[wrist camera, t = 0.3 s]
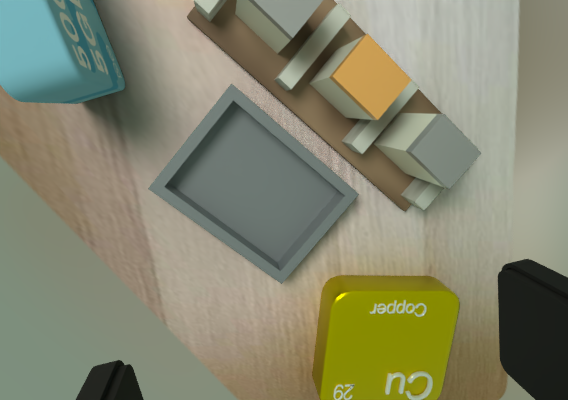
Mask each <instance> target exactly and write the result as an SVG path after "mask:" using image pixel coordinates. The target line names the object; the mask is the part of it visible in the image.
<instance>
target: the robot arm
mask: <svg viewBox="0 0 568 400" xmlns="http://www.w3.org/2000/svg"><path fill="white" fill-rule="evenodd" d="M498 302H499V343H500V361H501V364H502V366H503V368H504V370H505V371H506V372H507V374H508V375H510V376H511V377H512V378H513V379H514V380H515V381H516V382H517V383H518V384H519V385H520V386H521V387H522V388H523V389H525V390H526V391H527V392H528V393H529V394H530V395H531V396H532V397H533V398H534V399H535V400H568V278H567V277H565V276H563V275H561V274H559V273H557V272H555V271H553V270H551V269H549V268H547V267H545V266H543V265H540V264H538V263H537V262H535V261H532V260H529V259H524V260H521V261H517V262H512V263H508V264H505V265H504V266H503V268H502V271H501V272H499V274H498ZM76 400H143V397H142V394H141V391H140V388H139V385H138V382H137V379H136V376H135V373H134V370H133V367H132V366H131V365H130V364H129V365H124V363H123V362H122V361H120V360H118V361H114V362H109V363H106V364H102V365H97V366H95V367H93V368H92V369H91V371H90V373H89V375H88V377H87V379H86V381H85V383H84V385H83V387H82V388H81V391H80V393H79V394H78V396H77V398H76Z"/></svg>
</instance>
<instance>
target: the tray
mask: <svg viewBox="0 0 568 400" xmlns="http://www.w3.org/2000/svg"><path fill="white" fill-rule="evenodd" d="M148 189H149V190H151V191H152V192H153V193H155V194H156V195H158V196H159V197H161V198H162V199H163V200H165V201H166V202H168V203H169V204H170V205H172V206H173V207H175V208H176V209H177V210H179V211H180V212H182V213H183V214H184V215H186V216H187V217H189V218H190V219H191V220H193V221H194V222H196V223H197V224H198V225H200V226H201V227H203V228H204V229H205V230H207V231H208V232H210V233H211V234H212V235H214V236H215V237H217V238H218V239H219V240H221V241H222V242H224V243H225V244H226V245H228V246H229V247H231V248H232V249H233V250H235V251H236V252H238V253H239V254H240V255H242V256H243V257H245V258H246V259H247V260H249V261H250V262H252V263H253V264H254V265H256V266H257V267H259V268H260V269H261V270H263V271H264V272H266V273H267V274H268V275H270V276H271V277H273V278H274V279H275V280H277V281H278V282H280V283H281V284H282V283H283V282H284V281H285V279H286V278H287V277H288V276H289V275H290V274H291V272H292V271H293V270H294V269H295V268H296V267H297V265H298V264H299V263H300V262H301V261H302V260H303V258H304V257H305V256H306V255H307V254H308V253H309V252H310V250H311V249H312V248H313V247H314V246H315V245H316V243H317V242H318V241H319V240H320V239H321V238H322V236H323V235H324V234H325V233H326V232H327V231H328V229H329V228H330V227H331V226H332V225H333V224H334V222H335V221H336V220H337V219H338V218H339V217H340V215H341V214H342V213H343V212H344V211H345V210H346V208H347V207H348V206H349V205H350V204H351V203H352V202H353V200H354V199H355V198H356V197H357V196H358V195H359V194H358V193H357V192H356V191H355V190H354V189H352V188H351V187H350V186H349V185H348V184H347V183H345V182H344V181H343V180H342V179H341V178H340V177H339V176H337V175H336V174H335V173H334V172H333V171H332V170H330V169H329V168H328V167H327V166H326V165H325V164H324V163H322V162H321V161H320V160H319V159H318V158H317V157H315V156H314V155H313V154H312V153H311V152H310V151H309V150H307V149H306V148H305V147H304V146H303V145H302V144H301V143H299V142H298V141H297V140H296V139H295V138H294V137H292V136H291V135H290V134H289V133H288V132H287V131H286V130H284V129H283V128H282V127H281V126H280V125H279V124H277V123H276V122H275V121H274V120H273V119H272V118H271V117H269V116H268V115H267V114H266V113H265V112H264V111H262V110H261V109H260V108H259V107H258V106H257V105H256V104H254V103H253V102H252V101H251V100H250V99H249V98H247V97H246V96H245V95H244V94H243V93H242V92H241V91H239V90H238V89H237V88H236V87H235V86H234V85H232V84H231V85H230V86H229V87H228V89H227V90H226V91H225V93H224V94H223V95H222V96H221V98H220V99H219V100H218V101H217V103H216V104H215V105H214V106H213V108H212V109H211V110H210V111H209V113H208V114H207V115H206V116H205V118H204V119H203V120H202V121H201V123H200V124H199V125H198V127H197V128H196V129H195V130H194V132H193V133H192V134H191V135H190V137H189V138H188V139H187V140H186V142H185V143H184V144H183V145H182V147H181V148H180V149H179V150H178V152H177V153H176V154H175V155H174V157H173V158H172V159H171V161H170V162H169V163H168V164H167V166H166V167H165V168H164V169H163V171H162V172H161V173H160V174H159V176H158V177H157V178H156V179H155V181H154V182H153V183H152V184H151V186H150V187H149V188H148Z"/></svg>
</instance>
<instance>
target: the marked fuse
mask: <svg viewBox="0 0 568 400" xmlns="http://www.w3.org/2000/svg"><path fill="white" fill-rule="evenodd" d="M410 82H411V79H410V78H409V77H408V76H407V75H406V73H405V72H404V71H403V70H402V69H401V68H400V67H399V66H398V65H397V64H396V63H395V62H394V61H393V60H392V59H391V58H390V57H389V56H388V55H387V54H386V53H385V51H384V50H383V49H382V48H381V47H380V46H379V45H378V44H377V43H376V42H375V41H374V40H373V39H372V38H371V37H370V36H369V35H368V34H366V35H364V36H362V37H360V38H358V39H356V40H354V41H353V42H351V43H349V44H347V45H345V46H343V47H341V48H339V49H337V50H336V51H335V52H334V53H333V54H332V56H331V57H330V58H329V59H328V61H327V62H326V63H325V64H324V65H323V67H322V68H321V69H320V70H319V72H318V73H317V74H316V75H315V76H314V78H313V79H312V80H311V81H310V83H309V84H310V85H311V86H312V87H313V88H315V89H316V90H317V91H318V92H319V93H320V94H321V95H322V96H323V97H324V98H325V99H326V100H327V101H328V102H329V103H331V104H332V105H333V106H334V107H335V108H336V109H337V110H338V111H339V112H340V113H341V114H342V115H343V116H344V117H346V118H357V119H370V120H378V119H379V118H380V117H381V116H382V115H383V113H384V112H385V111H386V110H387V109H388V107H389V106H390V105H391V104H392V103H393V102H394V100H395V99H396V98H397V97H398V96H399V94H400V93H401V92H402V91H403V90H404V89H405V87H406V86H407V85H408V84H409V83H410Z"/></svg>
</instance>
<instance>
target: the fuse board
mask: <svg viewBox="0 0 568 400" xmlns="http://www.w3.org/2000/svg"><path fill="white" fill-rule="evenodd" d="M194 3H195V7H194V8H193V9H192V11H191V12H190V13H189V14H188V16H187V18H188V19H189V20H190V21H191V22H192V23H193V24H194V25H195V26H196V27H198V28H199V29H200V30H201V31H202V32H203V33H204V34H205V35H207V36H208V37H209V38H210V39H211V40H212V41H213V42H214V43H216V44H217V45H218V46H219V47H220V48H221V49H222V50H223V51H224V52H226V53H227V54H228V55H229V56H230V57H231V58H232V59H233V60H235V61H236V62H237V63H238V64H239V65H240V66H241V67H242V68H244V69H245V70H246V71H247V72H248V73H249V74H250V75H251V76H253V77H254V78H255V79H256V80H257V81H258V82H259V83H260V84H261V85H263V86H264V87H265V88H266V89H267V90H268V91H269V92H270V93H272V94H273V95H274V96H275V97H276V98H277V99H278V100H279V101H281V102H282V103H283V104H284V105H285V106H286V107H287V108H288V109H290V110H291V111H292V112H293V113H294V114H295V115H296V116H297V117H298V118H300V119H301V120H302V121H303V122H304V123H305V124H306V125H307V126H309V127H310V128H311V129H312V130H313V131H314V132H315V133H316V134H318V135H319V136H320V137H321V138H322V139H323V140H324V141H325V142H327V143H328V144H329V145H330V146H331V147H332V148H333V149H334V150H335V151H337V152H338V153H339V154H340V155H341V156H342V157H343V158H344V159H346V160H347V161H348V162H349V163H350V164H351V165H352V166H353V167H355V168H356V169H357V170H358V171H359V172H360V173H361V174H362V175H364V176H365V177H366V178H367V179H368V180H369V181H370V182H371V183H372V184H374V185H375V186H376V187H377V188H378V189H379V190H380V191H381V192H383V193H384V194H385V195H386V196H387V197H388V198H389V199H390V200H392V201H393V202H394V203H395V204H396V205H397V206H398V207H399V208H401V209H402V210H403V211H406V210H407V209H408V208H409V207H410V205H411V204H412V205H414V206H416V207H418V208H420V209H422V210H425V209H426V208H427V207H428V206H429V204H430V203H431V202H432V201H433V200H434V199H435V198H436V197H437V195H438V194H439V193H440V192H441V191H442V190H443V189H444V187H442V186H439V185H436V184H433V183H430V182H428V181H425V180H422V179H419V178H417V177H414V176H411V175H408V174H405V173H404V172H403V171H402V170H401V169H400V168H399V167H398V166H397V165H396V164H395V163H394V162H393V161H391V160H390V159H389V158H388V157H387V156H386V155H385V154H384V153H383V152H382V151H381V150H380V149H379V148H378V147H377V146H375V145H374V144H373V143H374V142H375V141H376V139H377V138H378V137H379V136H380V135H381V134H382V132H383V131H384V130H385V129H386V128H387V126H388V125H389V124H390V123H391V122H392V121H393V119H394V118H395V117H396V116H397V115H398V114H399V113H423V114H442V113H441V112H440V111H439V110H438V109H437V108H436V107H435V106H434V105H433V104H432V103H431V102H430V101H429V100H428V99H427V98H426V97H425V96H424V94H423V93H422V92H421V91H420V90H419V89H418V88H419V87H418V86H417V84H416V83H415V82H414V81H413V80H412V79H411V78H410V77H409V76H408V77H409V78H410V79H411V82H410V83H409V84H408V85H407V86H406V87H405V89H404V90H403V91H402V92H401V93H400V94H399V96H398V97H397V98H396V99H395V100H394V102H393V103H392V104H391V105H390V106H389V107H388V109H387V110H386V111H385V112H384V113H383V115H382V116H381V117H380V118H379V119H378V120H370V119H357V118H346V117H344V116H343V115H342V114H341V113H340V112H339V111H338V110H337V109H336V108H335V107H334V106H333V105H332V104H331V103H329V102H328V101H327V100H326V99H325V98H324V97H323V96H322V95H321V94H320V93H319V92H318V91H317V90H316V89H315V88H313V87H312V86H311V85H310V84H309V83H310V81H311V80H312V79H313V78H314V76H315V75H316V74H317V73H318V72H319V70H320V69H321V68H322V67H323V65H324V64H325V63H326V62H327V61H328V59H329V58H330V57H331V56H332V54H333V53H334V52H335V51H336V50H337V49H339V48H341V47H343V46H345V45H347V44H349V43H351V42H353V41H354V40H356V39H358V38H360V37H362V36H364V35H366V34H365V33H364V32H363V31H362V30H361V29H360V28H359V27H358V25H357V24H356V23H355V22H354V21H353V20H352V19H351V18H350V17H351V15H350V14H349V13H348V12H347V11H346V10H345V9H344V8H343V7H342V6H341V5H340V4H339V3H338V4H337V3H336V2H335V1H334V0H323V1H322V2H321V4H320V5H319V6H318V7H317V9H316V10H315V11H314V12H313V14H312V15H311V16H310V17H309V19H308V20H307V21H306V22H305V24H304V25H303V26H302V27H301V29H300V30H299V31H298V32H297V34H296V35H295V36H294V37H293V38H292V39H291V41H290V42H289V43H288V44H287V45H286V46H285V47H284V48H283V49H282V50H281V51H280V52H279V53H278V54H277V53H276V52H275V51H274V50H273V49H272V48H271V47H270V46H269V45H268V44H266V43H265V42H264V41H263V40H262V39H261V38H260V37H259V36H258V35H257V34H256V33H255V32H254V31H253V30H252V29H250V28H249V27H248V26H247V25H246V24H245V23H244V22H243V21H242V20H241V19H240V18H239V17H238V16H237V15H235V12H236V3H237V0H194ZM468 140H469V139H468ZM469 141H470V140H469ZM470 142H471V141H470ZM471 143H472V142H471ZM472 144H473V143H472ZM473 145H474V144H473ZM474 146H475V145H474ZM475 147H476V146H475ZM476 148H477V147H476ZM477 149H478V148H477Z"/></svg>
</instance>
